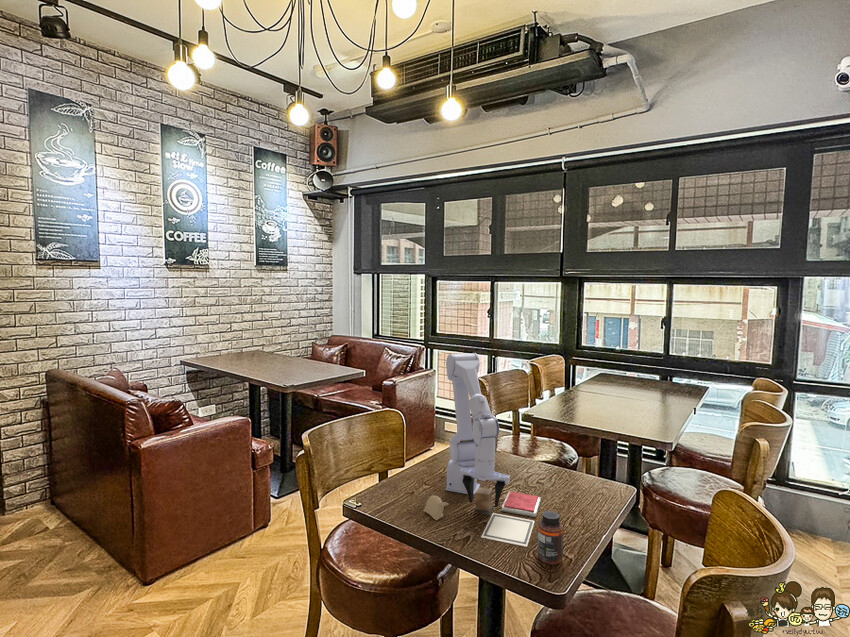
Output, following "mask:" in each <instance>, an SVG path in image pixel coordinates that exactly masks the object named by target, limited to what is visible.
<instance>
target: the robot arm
mask: <svg viewBox="0 0 850 637" xmlns="http://www.w3.org/2000/svg"><path fill="white" fill-rule="evenodd" d="M480 363H481V362H480V356H479V355H478V354H477V353H476V352H472V353H449V354H448V355H447V357H446V360H445V368H446V369H445V370H446V376H447V380H449V381H451V382H452V388H453V389H452V390H453V399H454V400H453V401H454V410H455V419H456V420H455V421H456V430H457V432H455V433H454V434H453V435H452V436H451V437H450V439H449V457H450V459H449V461H448V463H447V468H446V488H445V490H446V491H447V492H455V493H458V494H459V493H460V494H463V495H464V494H465V495H467V496H468V502H469V503H473V501H474V496H476V492H477V490H478V488H479V487H481V483H478V480H479V481H483V482H484V481H491V482H496V483H495V484H494V492H495V496H494V498H495V499H494V507H495V508H498V507H499V505H500V498H501V496H502V492H503V490H504V488H505V486H506V485H509V484H510V482H511V481H510V479H511V478H510V477H511V476H510V475H509V474H505V473H502V472H501V473H500V472H498V471H495V469H496V468H495V463H496V462H495V461H496V460H495V459H496V453H495V437H497V436H499V435H500V424H499V420H498V418H497V417H496V416H495V415H494V414H493V413H492V412H491V408H490V404H489V402H488V399H487V397H486V396H485V395H483V394H482V391H481V385H480V381H479V377H478V373H479V371H480V366H481V365H480ZM471 417H472V418H473V421H474V422H473V426H472V423H471ZM472 428H473V431H472ZM461 440H472V441H468V442H460V441H461Z"/></svg>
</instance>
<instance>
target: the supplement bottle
mask: <svg viewBox="0 0 850 637" xmlns="http://www.w3.org/2000/svg"><path fill="white" fill-rule="evenodd" d="M537 527H538V528H537V557H538V559H539V560H540V562H542V563H544V564H547V565H551V566H552V565H558V564H560V563H562V561H563V556H564V551H563V550H564V526H563V523H562V522H561V521H560V514H559V513H558V512H556V511H553V510H545V511H544V512H543V513H542V519H541V520H539V522H538V526H537Z"/></svg>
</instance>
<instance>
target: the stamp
mask: <svg viewBox="0 0 850 637" xmlns="http://www.w3.org/2000/svg"><path fill="white" fill-rule="evenodd" d="M493 509H494V505H493V489H492V488H487V487H481V486H480V487H479V488H478V490H477V491H476V493H475V507H474V510H473V513H474V512H476V514H481V515H485V516H486V515H487V516H491V513H492V511H493Z"/></svg>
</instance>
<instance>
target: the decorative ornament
mask: <svg viewBox="0 0 850 637" xmlns="http://www.w3.org/2000/svg"><path fill="white" fill-rule="evenodd" d="M446 506H449V503H448V502H446V501H445V502H443V499H442V498H441V497H439V496H437V495H434V494H433V495H431V496H429V498H428V499H427V501H426V503H425V508H424V509H423V510H422V511H423V512H425V513H427V514H428V515H429V516H431V517H432V518H433V520H434V519H435V520H437V521H438V520H439V519H441V518H443V516H444V513H443V512H444V507H446ZM435 520H434V521H435Z"/></svg>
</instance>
